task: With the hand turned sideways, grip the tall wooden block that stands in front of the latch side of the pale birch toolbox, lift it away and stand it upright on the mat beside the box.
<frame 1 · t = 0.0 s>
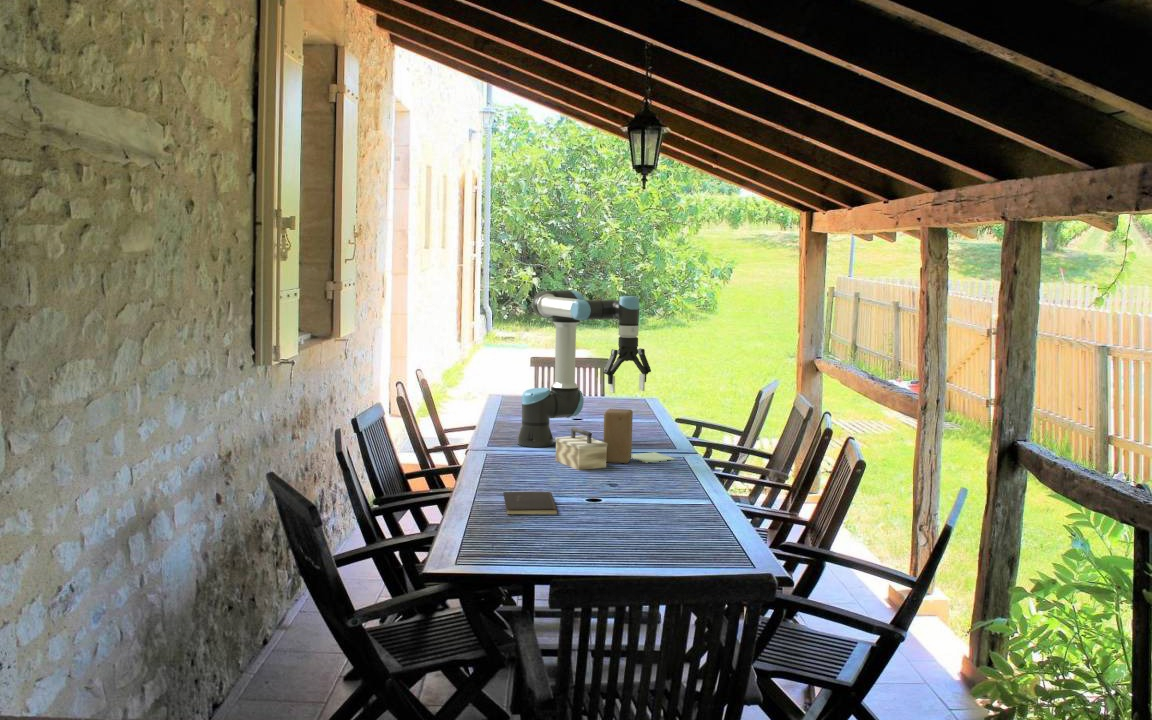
hand: (626, 391, 386), 28 cm above the table, tool pointing down, fingers open, 13 cm apart
hardcover book: (529, 507, 322), on the table
wooden block: (617, 461, 394), on the table
toolbox: (580, 464, 387), on the table
mat: (650, 458, 400), on the table
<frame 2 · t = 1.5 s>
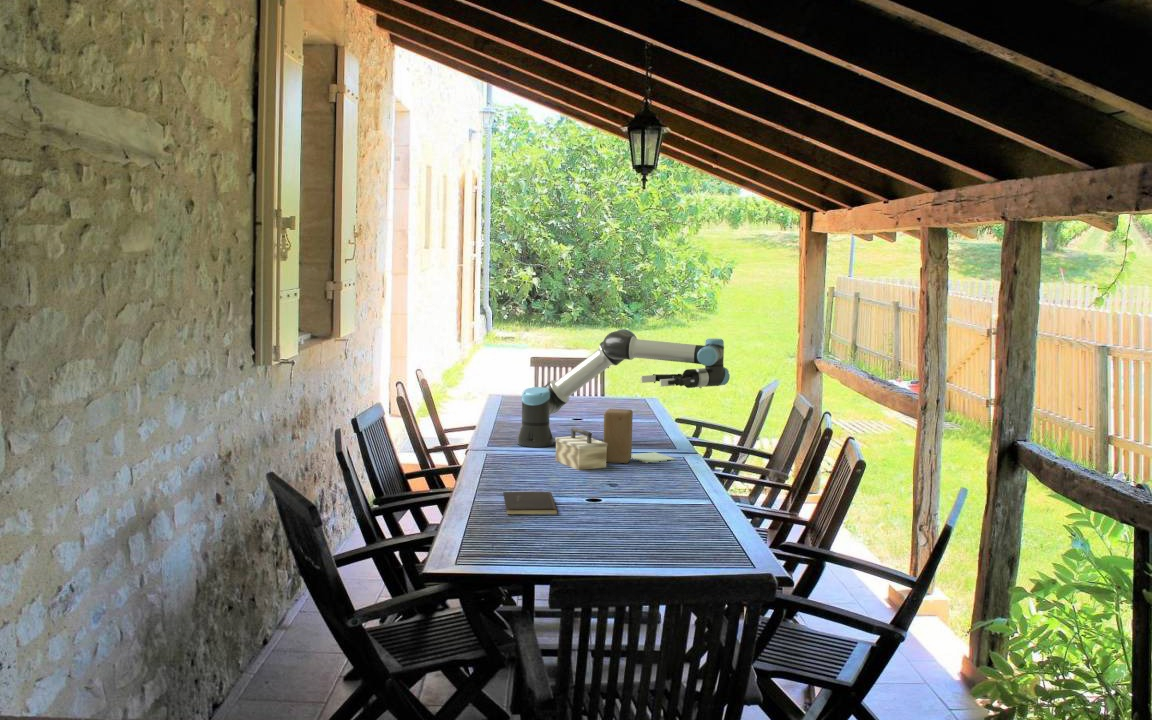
hand: (650, 381, 398), 31 cm above the table, tool horizontal, fingers open, 13 cm apart
nothing on the table moved.
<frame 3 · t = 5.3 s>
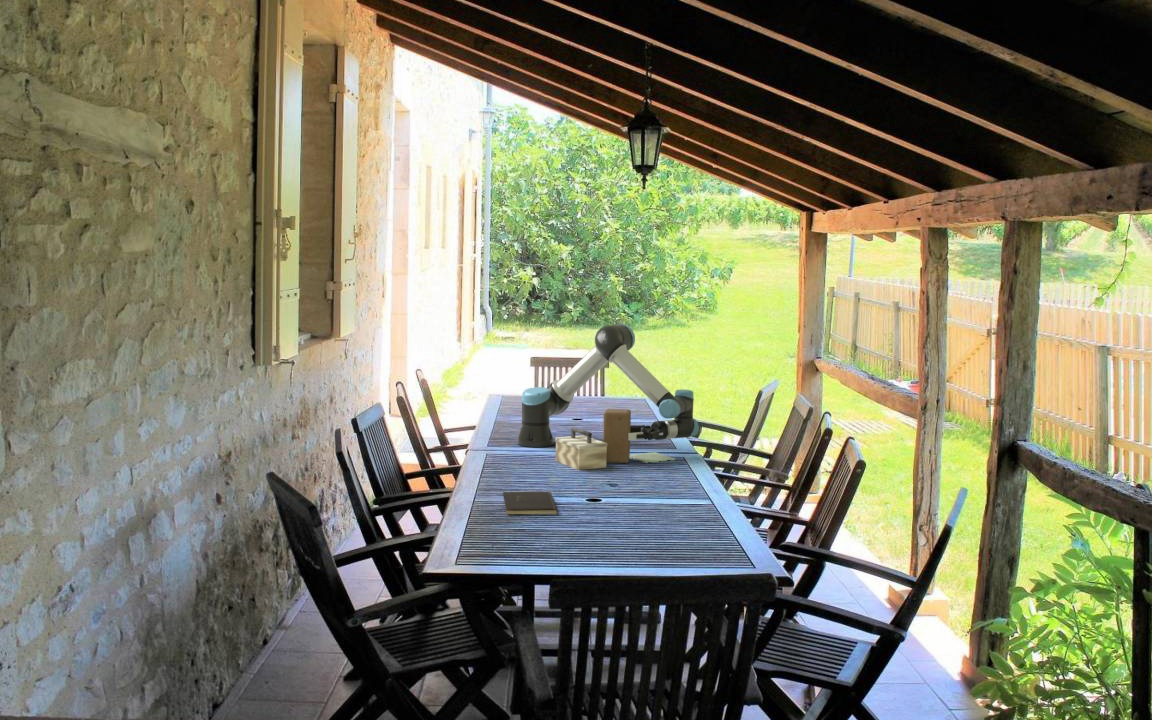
hand: (618, 433, 392), 11 cm above the table, tool horizontal, fingers open, 13 cm apart
wooden block: (616, 461, 394), on the table, touching gripper
everything else where it was.
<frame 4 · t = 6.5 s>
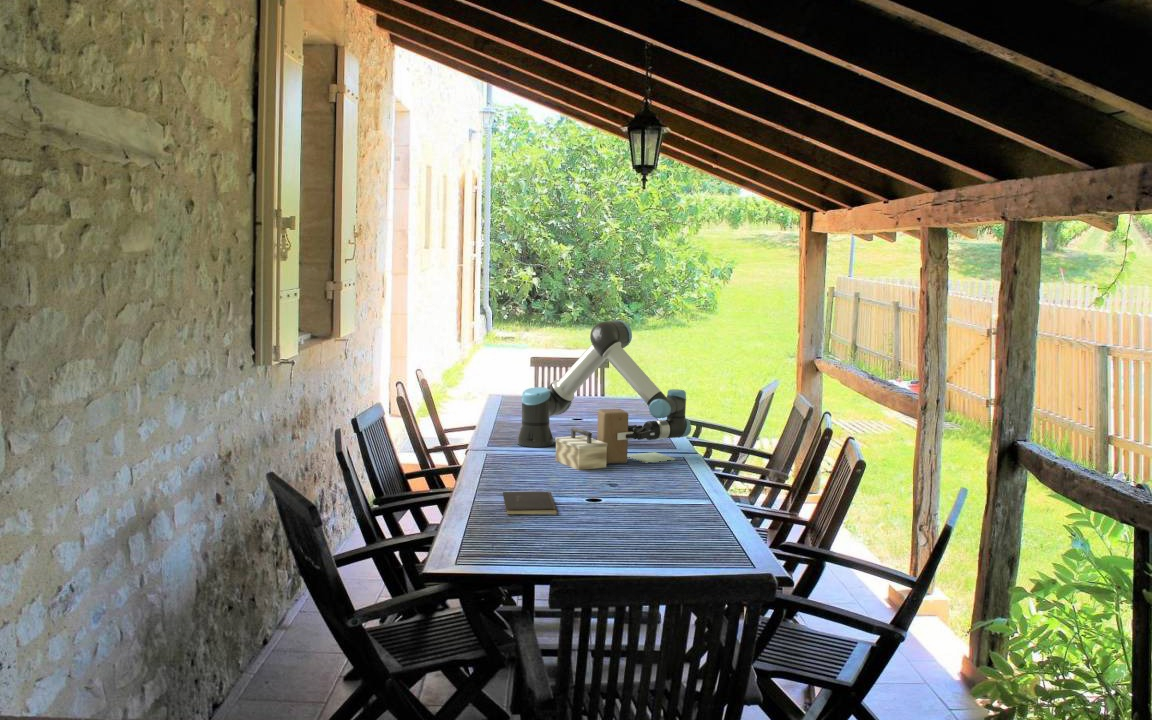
hand: (609, 433, 391), 11 cm above the table, tool horizontal, fingers closed on wooden block, 12 cm apart
wooden block: (611, 461, 393), on the table, touching gripper
everything else where it was.
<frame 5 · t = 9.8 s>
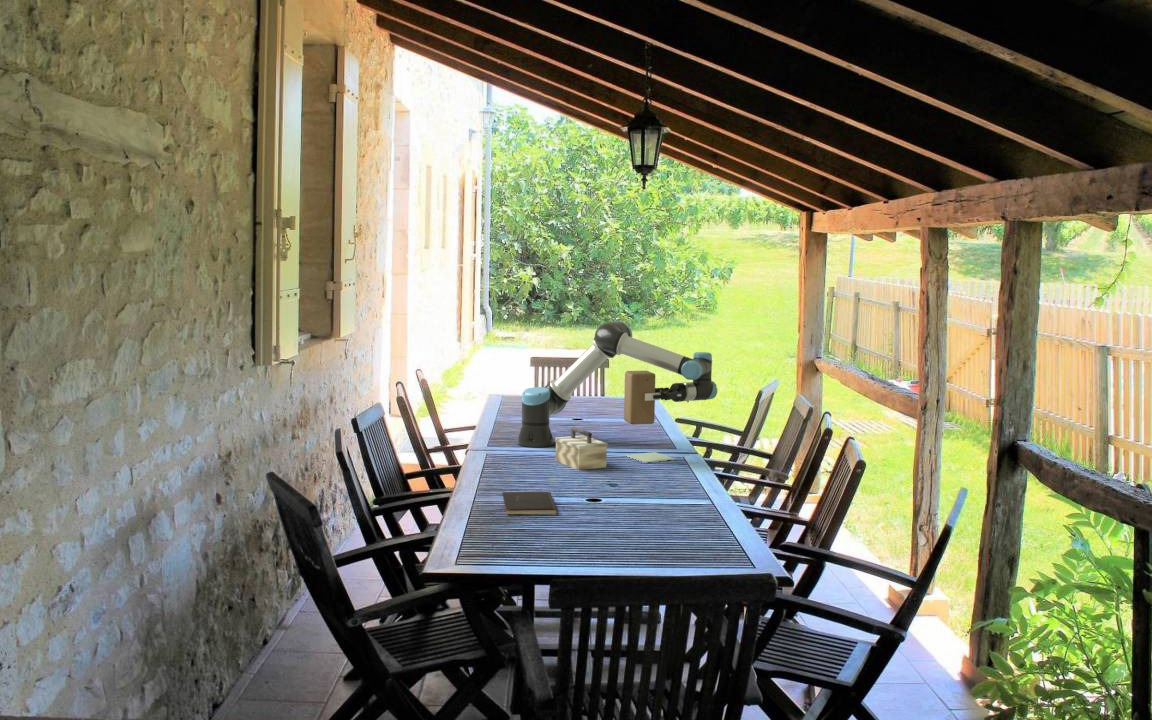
hand: (636, 395, 394), 26 cm above the table, tool horizontal, fingers closed on wooden block, 12 cm apart
wooden block: (639, 423, 396), point 15 cm above the table, touching gripper
everything else where it was.
when the fingers open (13 cm above the table, at t = 13.1 s): wooden block drops 1 cm, resting on mat.
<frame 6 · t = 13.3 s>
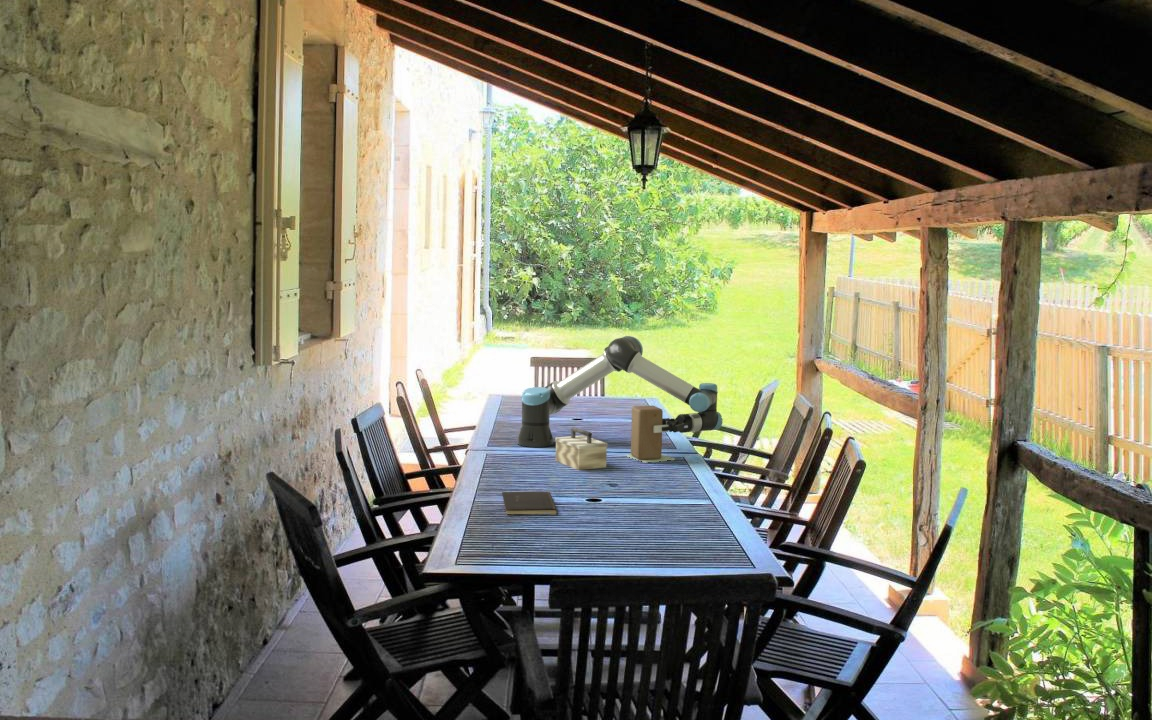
hand: (644, 426, 397), 13 cm above the table, tool horizontal, fingers open, 13 cm apart
wooden block: (645, 457, 399), resting on mat
everything else where it was.
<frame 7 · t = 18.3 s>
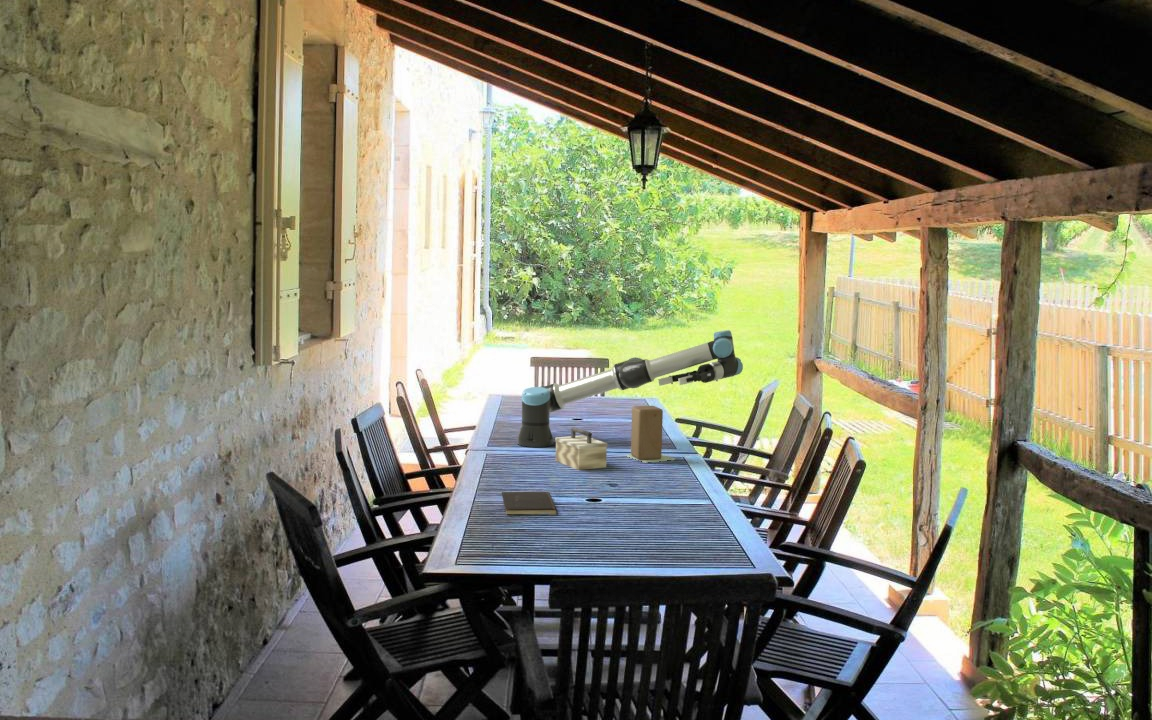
hand: (668, 382, 405), 30 cm above the table, tool horizontal, fingers open, 13 cm apart
nothing on the table moved.
at the end: wooden block inside the target area on the mat (2.2 cm from its centre), point 0.4 cm above the mat's base; wooden block tilted 0°; wooden block touching mat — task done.
